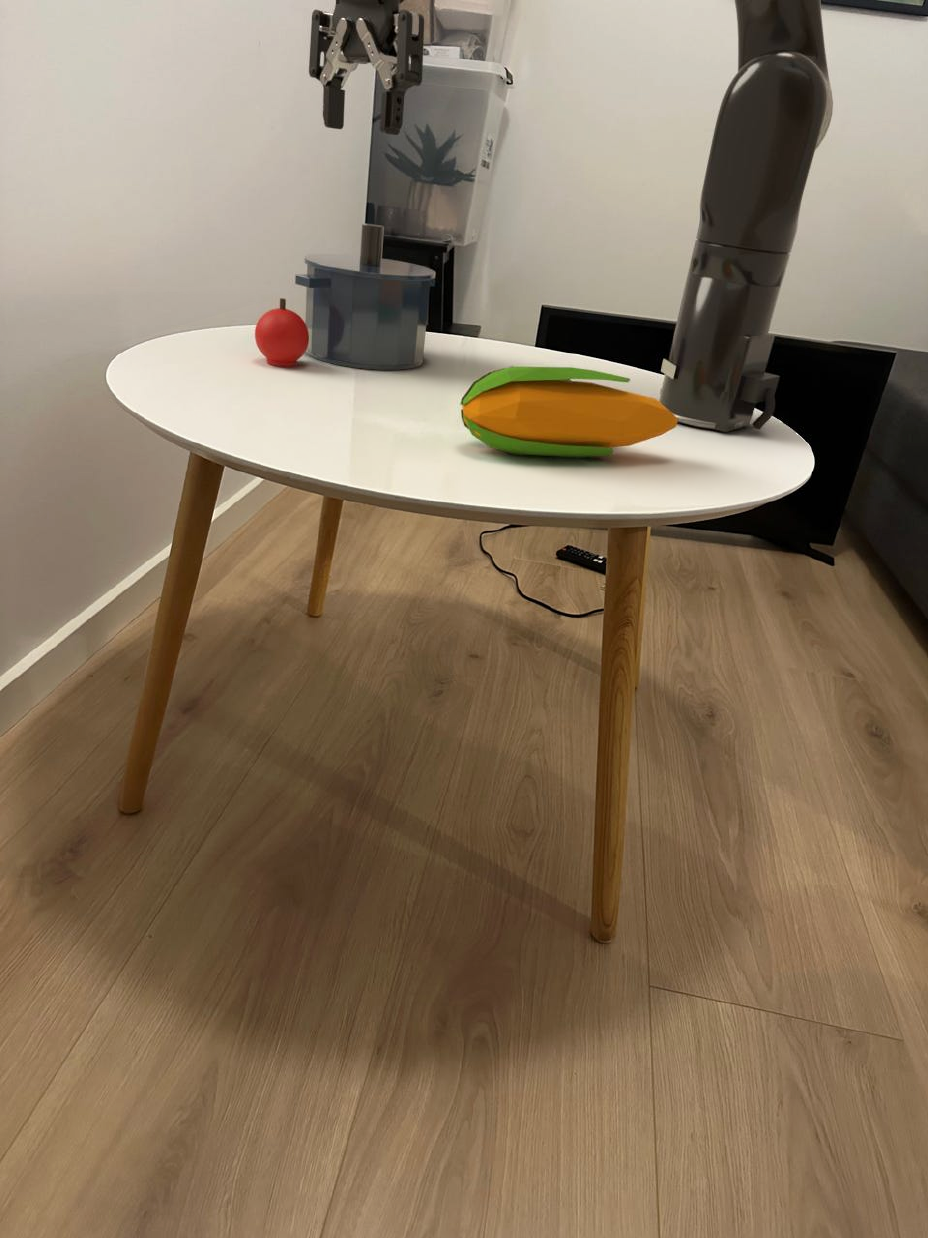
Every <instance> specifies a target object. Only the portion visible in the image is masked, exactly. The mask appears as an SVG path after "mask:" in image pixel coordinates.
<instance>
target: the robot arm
mask: <svg viewBox="0 0 928 1238" xmlns="http://www.w3.org/2000/svg"><path fill="white" fill-rule="evenodd" d="M404 2H405V0H335V5H334V10H333V13H331V12H328V11H324V10H320V9H314V10H313V11H312V14H311V27H310V44H309V58H308V59H309V61H308V74H309V77H311V78H313V79H316V80H317V81H319V82H320V84H321V85H322V88H323V90H322V91H323V92H322V93H323V95H322V118H323V125H324V127H325V128H328V129H335V130H342V129H343V128H344V123H345V105H346V103H345V101H346V90H345V89H343V88H344V87H345V84H346V82H347V80H348V78H349V76H350V74H351V73H352V72H354V71H356V69H358V66H359V65H368V64H371V66H372V67H373V68H374V69H375V70H376V71H377V73H378V75H379V78H380V80H381V83H382V86H383V88H384V90H381V103H380V104H381V105H380V122H379V130H380V132H381V134H385V135H392V136H398V135H399V134H400V132H401V129H402V126H403V122H404V110H405V109H404V106H405V96H406V93H407V92H408V90H410V89H411V88H414V87H420V86H421V84H422V83H423V65H424V40H425V17H424V16H423V14H420V13H417V12H414V11H411V10H409V9H408V10H407V9H404V8H402V9H400V5H402V4H403V3H404ZM734 5H735V6H734V7H735V13H736V22H737V23H736V25H737V48H738V49H737V73H736V74H735V75H734V77H732V79H731V81H730V83H729V84H728V86H727V88H726V90H725V93H724V95H723V97H722V99H721V103H720V106H719V110H718V113H717V117H716V122H715V126H714V129H713V134H712V140H711V145H710V149H709V155H708V158H707V163H706V170H705V174H704V178H703V184H702V189H701V194H700V203H699V222H698V227H697V233H696V240H695V241H694V246H693V250H692V255H691V259H690V263H689V266H688V267H689V268H688V272H687V276H686V281H685V284H684V290H683V292H682V293H683V294H682V297H681V302H680V307H679V311H678V316H677V319H676V324H675V328H674V332H673V336H672V337H673V338H672V340H671V347H670V350H669V354H668V359H666V358H663V360H662V363H661V369H660V372H661V373H663V374H664V377H663V381H662V384H661V389H660V392H659V398H658V401H659V402H660V403H661V404H662V405H664V406H665V407H666V408H667V409H668V410H669V411H670V412H671V413H672V414H674V415H675V416H676V417H677V418H678V422H677V423H681V424H684V425H688V426H692V427H698V428H703V429H711V430H716V431H719V432H723V433H728V432H731V431H734V430H737V429H741V428H744V427H748V426H752V427H753V428H754V429H756V430H761V429H762V427H764V426H765V425H766V423H767V422H769V420H770V419H771V418H772V416H773V415H774V412H775V409H776V397H775V395H776V391H777V389H778V384H779V381H780V377H781V376H780V375H777V374H773V373H770V372H766V369H767V365H768V363H769V360H770V359H769V358H770V355H771V353H772V348H773V344H774V341H775V335H774V333H772V332H769V331H770V328H771V324H772V321H773V317H774V313H775V310H776V306H777V303H778V299H779V295H780V292H781V289H782V284H783V282H784V277H785V274H786V271H787V267H788V263H789V259H790V256H791V254H790V253H792V250H793V246H794V242H795V239H796V236H797V231H798V227H799V218H800V212H801V206H802V201H803V196H804V193H805V188H806V184H807V181H808V177H809V174H810V171H811V166H812V163H813V159H814V155H815V152H816V150H817V149H818V148H819V147H820V145H821V144H822V142H823V140H824V139H825V137H826V135H827V132H828V131H829V130H828V129H829V128H830V125H831V122H832V118H833V109H834V99H833V92H832V86H831V83H830V76H829V69H828V61H827V54H826V47H825V46H826V45H825V37H824V27H823V18H822V17H823V15H822V3H821V0H734ZM322 53H323V65H321V56H322ZM761 402H765V405H764V406H765V407H764V410H763V411H762V413H761V414H760V415H759V416H758V417H757V418H756V419H755V420H754V421H752V420H753V419H752V418H753V415H754V412H755V408H756V404H757V403H761ZM751 422H752V424H751Z"/></svg>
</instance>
